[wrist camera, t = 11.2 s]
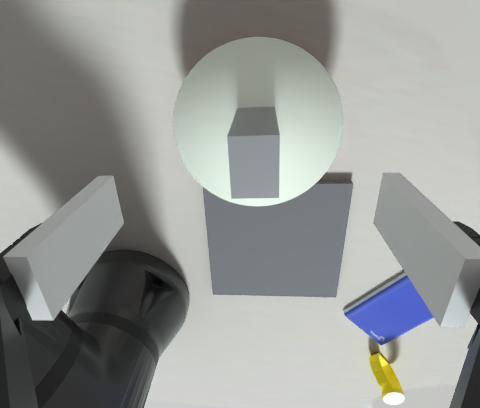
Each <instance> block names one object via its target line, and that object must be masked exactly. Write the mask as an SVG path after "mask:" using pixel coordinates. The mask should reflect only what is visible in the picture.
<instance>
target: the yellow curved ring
mask: <svg viewBox="0 0 480 408" xmlns="http://www.w3.org/2000/svg"><path fill="white" fill-rule="evenodd" d="M369 359H370V364H371V368H372V371H373V374H374V376H375V378H376V380H377V382H378V384H379V386H380V388H381V389H382V391H383V392H382V399H383V401H384V402H385V403H387V404H389V405H398V404H400V403H402V402H403V401H404V400H405V396H404V394H403V392H402V389H401V386H400V383H399V381H398V379H397V377H396V375H395V373H394V371H393V369H392V368H391V366H390V364H389V363H388V362H387V361H386V360H385V359H384V357H383V356H382V355H381V354H380V353H376V354H374V355H372V356H370V358H369Z"/></svg>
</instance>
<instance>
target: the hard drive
mask: <svg viewBox="0 0 480 408" xmlns="http://www.w3.org/2000/svg"><path fill="white" fill-rule="evenodd" d="M343 311H344V314H345V316H346V317H347V318H348V319H349V320H351V321H352V322H353V323H354V324H355V325H357V326H358V327H359V328H360V329H362V330H363V331H364V332H365V333H366V334H368V335H369V336H370V337H371V338H373V339H374V340H375V341H376V342H377V343H379V344H380V345H383V344H385V343H387V342H389V341H391V340H393V339H394V338H396V337H398V336H400V335H402V334H404V333H405V332H407V331H409V330H411V329H413V328H415V327H417V326H418V325H420V324H422V323H424V322H426V321H428V320H430V319H432V318H434V317H433V315H432V314H431V312H430V310H429V309H428V307H427V306H426V304H425V303H424V301H423V299H422V298H421V296H420V295H419V293H418V292H417V290H416V289H415V287H414V285H413V284H412V282H411V281H410V279H409V278H408V276H407V275H406V273H405V272H404V273H403V274H401V275H400V276H398V277H396V278H395V279H393V280H392V281H390V282H388V283H387V284H385V285H384V286H382V287H380V288H379V289H377V290H376V291H374V292H372V293H371V294H369V295H367V296H366V297H364V298H363V299H361V300H359V301H358V302H356V303H355V304H353V305H351V306H350V307H348V308H347V309H345V310H343Z"/></svg>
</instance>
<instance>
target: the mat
mask: <svg viewBox="0 0 480 408" xmlns="http://www.w3.org/2000/svg"><path fill="white" fill-rule="evenodd" d="M352 188H353V183H352V181H318V182H317V183H315V184H314V185H313V186H312V187H311V188H310V189H308V190H307V191H306V192H304V193H302V194H301V195H299V196H297V197H295V198H293V199H291V200H288V201H286V202H282V203H279V204H275V205H269V206H245V205H239V204H236V203H232V202H229V201H226V200H224V199H222V198H219V197H218V196H216V195H214V194H212V193H211V192H209V191H208V190H207V189H205V188H204V187H203V193H204V204H205V215H206V225H207V236H208V247H209V257H210V268H211V278H212V289H213V294H217V295H261V296H304V297H336V294H337V288H338V281H339V274H340V268H341V261H342V255H343V248H344V241H345V235H346V228H347V221H348V215H349V208H350V202H351V195H352Z"/></svg>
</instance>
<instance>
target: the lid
mask: <svg viewBox="0 0 480 408" xmlns="http://www.w3.org/2000/svg"><path fill="white" fill-rule="evenodd" d="M173 131H174V138H175V143H176V146H177V149H178V152H179V155H180V157H181V159H182V161H183V163H184V165H185V166H186V168H187V169H188V171H189V173H190V174H191V175H192V176H193V177H194V178H195V180H196V181H197V182H198V183H199V184H201V185H202V186H203V187H204V188H205V189H207V190H208V191H209V192H211V193H212V194H214V195H216V196H218V197H219V198H222V199H224V200H226V201H229V202H232V203H236V204H239V205H245V206H269V205H275V204H279V203H282V202H286V201H288V200H291V199H293V198H295V197H297V196H299V195H301V194H302V193H304V192H306V191H307V190H308V189H310V188H311V187H312V186H313V185H314V184H315V183H317V182H318V181H319V180H320V179H321V177H322V176H323V175H324V174H325V173H326V171H327V170H328V168H329V167H330V165H331V164H332V162H333V160H334V158H335V156H336V154H337V151H338V148H339V145H340V142H341V137H342V131H343V111H342V104H341V100H340V96H339V93H338V91H337V88H336V86H335V83H334V82H333V80H332V78H331V76H330V75H329V73H328V72H327V71H326V69H325V68H324V67H323V65H322V64H321V63H320V62H319V61H318V60H317V59H316V58H314V57H313V56H312V55H311V54H309V53H308V52H307V51H305V50H304V49H302V48H300V47H298V46H296V45H294V44H292V43H290V42H287V41H284V40H281V39H276V38H270V37H248V38H241V39H238V40H234V41H230V42H228V43H226V44H223V45H221V46H219V47H217V48H216V49H214V50H212V51H211V52H209V53H208V54H207V55H205V56H204V57H203V58H202V59H201V60H200V61H198V63H197V64H196V65H195V66H194V67H193V68H192V69H191V71H190V72H189V74H188V75H187V77H186V78H185V80H184V81H183V83H182V86H181V88H180V90H179V92H178V95H177V99H176V102H175V107H174V113H173Z"/></svg>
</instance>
